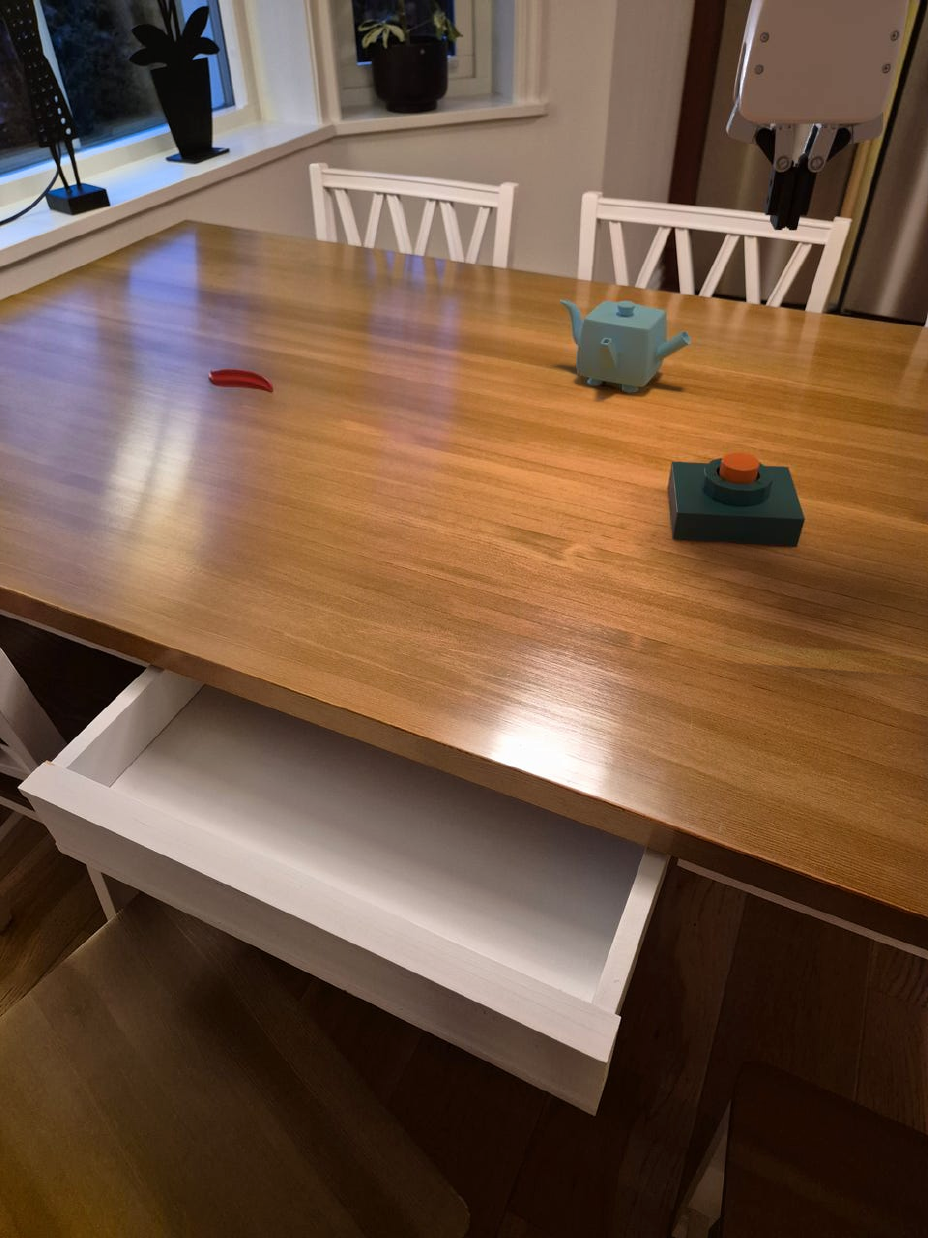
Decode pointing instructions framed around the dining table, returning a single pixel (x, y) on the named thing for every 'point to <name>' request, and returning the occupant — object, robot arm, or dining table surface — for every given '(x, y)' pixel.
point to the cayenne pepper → (239, 379)
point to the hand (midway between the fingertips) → (782, 224)
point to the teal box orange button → (734, 505)
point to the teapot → (622, 343)
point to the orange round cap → (739, 468)
